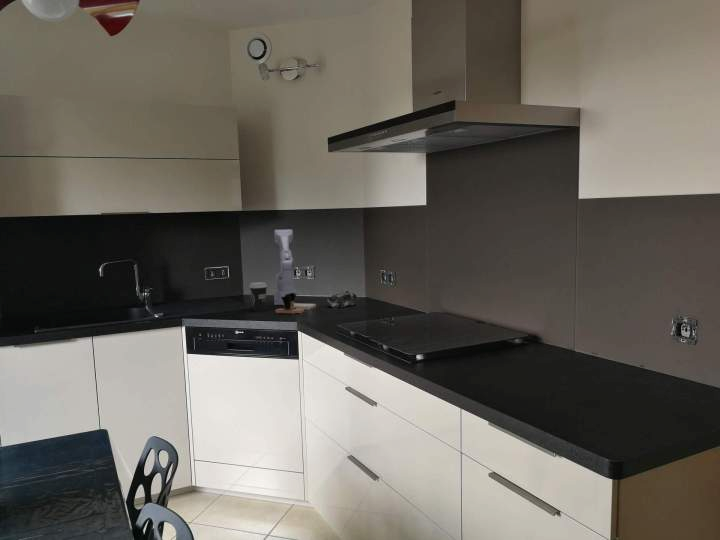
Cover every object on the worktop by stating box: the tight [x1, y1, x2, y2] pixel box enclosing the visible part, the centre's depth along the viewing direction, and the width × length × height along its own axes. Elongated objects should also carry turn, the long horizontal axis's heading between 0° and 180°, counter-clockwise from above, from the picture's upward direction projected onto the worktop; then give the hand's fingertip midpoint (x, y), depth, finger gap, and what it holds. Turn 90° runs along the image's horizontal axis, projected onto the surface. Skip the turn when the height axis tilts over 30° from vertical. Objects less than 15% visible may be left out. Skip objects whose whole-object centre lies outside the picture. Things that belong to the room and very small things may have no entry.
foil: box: [326, 290, 358, 309], centre depth 314 cm, size 12×11×15 cm
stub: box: [274, 300, 305, 314], centre depth 299 cm, size 14×5×6 cm, turn 72°
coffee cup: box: [248, 281, 268, 313], centre depth 307 cm, size 10×10×15 cm
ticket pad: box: [294, 302, 317, 310], centre depth 314 cm, size 14×9×2 cm, turn 72°
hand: (289, 308), depth 299 cm, fingers closed on stub, 3 cm apart
